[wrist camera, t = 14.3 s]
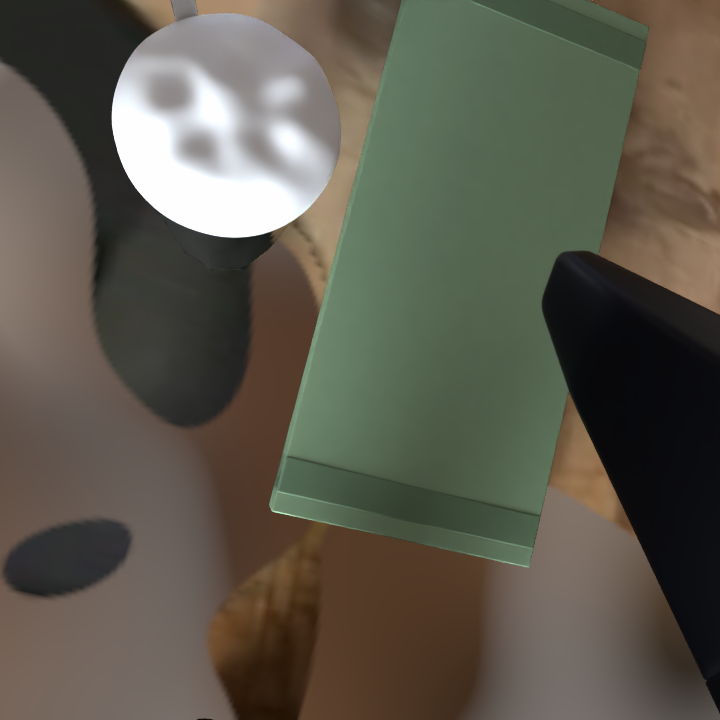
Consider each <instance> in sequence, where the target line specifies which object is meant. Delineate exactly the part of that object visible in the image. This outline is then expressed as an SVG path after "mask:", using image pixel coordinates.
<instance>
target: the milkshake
mask: <svg viewBox="0 0 720 720" xmlns="http://www.w3.org/2000/svg"><path fill="white" fill-rule="evenodd" d="M171 4H172V8H173V12H174V16H175V21H176V22H174V23H172V24H170V25H168V26H166V27H164V28H162V29H160V30H158V31H157V32H155V33H154V34H152V35H151V36H149V37H148V38H147V39H145V40H144V41H143V42H142V43H141V44H140V45H139V46H138V47H137V48H136V49H135V51H134V52H133V53H132V55H131V56H130V58H129V59H128V61H127V63H126V65H125V67H124V69H123V71H122V73H121V76H120V78H119V81H118V84H117V87H116V90H115V94H114V99H113V106H112V127H113V133H114V138H115V142H116V146H117V149H118V153H119V156H120V159H121V161H122V164H123V166H124V169H125V171H126V173H127V175H128V176H129V178H130V180H131V181H132V183H133V184H134V186H135V187H136V188H137V190H138V191H139V192H140V193H141V195H142V196H143V197H144V198H145V199H146V200H147V201H148V202H149V203H150V205H151V206H152V207H153V208H154V209H155V211H156V212H157V213H158V214H159V216H160V217H161V218H162V220H163V221H164V223H165V224H166V226H167V227H168V229H169V231H170V232H171V234H172V235H173V237H174V238H175V240H176V241H177V243H178V244H179V246H180V247H181V249H182V250H183V252H184V253H186V254H188V255H189V256H191V257H192V258H194V259H195V260H197V261H199V262H200V263H202V264H203V265H205V266H206V267H208V268H209V269H211V270H229V269H245V268H246V267H247V266H249V265H250V264H251V263H252V262H254V261H255V260H256V259H257V258H259V257H260V256H261V255H262V254H264V253H265V252H266V251H267V250H269V249H270V247H271V246H272V245H273V244H274V243H275V242H276V241H277V239H278V238H279V237H280V236H281V235H282V234H283V232H284V231H285V230H286V229H287V228H288V227H289V226H290V225H291V224H292V223H293V222H294V221H295V220H296V219H298V218H299V217H300V216H301V215H302V214H303V213H304V212H305V211H306V210H307V209H308V208H309V207H310V206H311V205H312V204H313V203H314V202H315V201H316V200H317V198H318V197H319V196H320V194H321V193H322V191H323V190H324V188H325V187H326V185H327V183H328V182H329V180H330V178H331V176H332V173H333V171H334V169H335V166H336V163H337V160H338V156H339V152H340V145H341V124H340V118H339V113H338V109H337V106H336V103H335V100H334V97H333V94H332V91H331V88H330V86H329V83H328V81H327V78H326V76H325V74H324V72H323V70H322V68H321V66H320V65H319V63H318V62H317V61H316V59H315V58H314V57H313V56H312V55H311V54H310V53H309V52H308V51H306V50H305V49H304V48H303V47H301V46H300V45H299V44H297V43H296V42H294V41H293V40H291V39H290V38H289V37H287V36H286V35H284V34H283V33H281V32H280V31H279V30H277V29H276V28H274V27H272V26H271V25H269V24H267V23H265V22H263V21H261V20H259V19H256V18H253V17H250V16H246V15H240V14H230V13H217V14H205V15H198V11H197V6H196V1H195V0H171Z"/></svg>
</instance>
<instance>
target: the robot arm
mask: <svg viewBox="0 0 720 720" xmlns="http://www.w3.org/2000/svg"><path fill="white" fill-rule="evenodd" d="M541 307H542V313H543V316H544V319H545V322H546V325H547V328H548V331H549V334H550V337H551V340H552V343H553V346H554V349H555V352H556V355H557V358H558V361H559V364H560V367H561V370H562V373H563V376H564V378H565V381H566V384H567V387H568V389H569V392H570V395H571V397H572V399H573V402H574V404H575V406H576V409H577V411H578V413H579V415H580V417H581V419H582V421H583V424H584V426H585V428H586V430H587V432H588V434H589V436H590V438H591V440H592V443H593V445H594V447H595V449H596V451H597V453H598V455H599V457H600V460H601V462H602V464H603V466H604V468H605V470H606V472H607V474H608V477H609V479H610V481H611V483H612V485H613V487H614V489H615V491H616V494H617V496H618V498H619V500H620V502H621V504H622V506H623V508H624V510H625V513H626V515H627V517H628V519H629V521H630V523H631V525H632V527H633V530H634V532H635V534H636V536H637V538H638V540H639V542H640V544H641V546H642V549H643V551H644V553H645V555H646V557H647V559H648V561H649V563H650V566H651V568H652V570H653V572H654V574H655V576H656V578H657V580H658V583H659V585H660V587H661V589H662V591H663V593H664V595H665V597H666V599H667V602H668V604H669V606H670V608H671V610H672V612H673V614H674V616H675V619H676V621H677V623H678V625H679V627H680V629H681V631H682V633H683V635H684V638H685V640H686V642H687V644H688V646H689V648H690V650H691V652H692V654H693V657H694V659H695V661H696V663H697V665H698V667H699V669H700V672H701V674H702V676H703V678H704V679H705V680H707V681H706V685H707V687H708V689H709V692H710V694H711V696H712V698H713V700H714V702H715V704H716V706H717V708H718V711H719V713H720V315H719V314H717V313H715V312H713V311H711V310H709V309H707V308H705V307H703V306H701V305H699V304H697V303H695V302H693V301H691V300H689V299H687V298H685V297H682V296H680V295H678V294H676V293H674V292H672V291H670V290H668V289H666V288H664V287H662V286H660V285H658V284H656V283H654V282H652V281H650V280H648V279H646V278H644V277H642V276H640V275H638V274H636V273H633V272H631V271H629V270H627V269H625V268H623V267H621V266H619V265H617V264H615V263H613V262H611V261H609V260H607V259H605V258H603V257H601V256H599V255H597V254H595V253H593V252H590V251H586V250H582V251H564V252H562V253H560V254H559V255H558V257H557V258H556V260H555V262H554V265H553V268H552V271H551V273H550V276H549V279H548V282H547V285H546V288H545V290H544V293H543V296H542V302H541ZM197 720H212V719H197Z"/></svg>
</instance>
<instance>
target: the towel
mask: <svg viewBox="0 0 720 720" xmlns="http://www.w3.org/2000/svg"><path fill="white" fill-rule="evenodd" d="M648 32H649V27H648V26H646V25H644V24H641V23H639V22H637V21H634V20H632V19H630V18H627V17H625V16H623V15H620V14H618V13H616V12H613V11H611V10H609V9H606V8H604V7H602V6H599V5H597V4H595V3H592V2H590V1H588V0H402V1H401V5H400V9H399V13H398V17H397V20H396V24H395V28H394V32H393V36H392V39H391V43H390V47H389V51H388V55H387V58H386V62H385V66H384V70H383V74H382V77H381V81H380V85H379V89H378V93H377V96H376V100H375V104H374V108H373V112H372V115H371V119H370V123H369V127H368V131H367V134H366V138H365V142H364V146H363V150H362V153H361V157H360V161H359V165H358V169H357V172H356V176H355V180H354V184H353V188H352V191H351V195H350V199H349V203H348V207H347V210H346V214H345V218H344V222H343V226H342V229H341V233H340V237H339V241H338V245H337V249H336V252H335V256H334V260H333V264H332V268H331V271H330V275H329V279H328V283H327V287H326V290H325V294H324V298H323V302H322V306H321V309H320V313H319V317H318V321H317V325H316V328H315V332H314V336H313V340H312V344H311V347H310V351H309V355H308V359H307V363H306V366H305V370H304V374H303V378H302V382H301V386H300V389H299V393H298V397H297V401H296V405H295V408H294V412H293V416H292V420H291V424H290V427H289V431H288V435H287V439H286V443H285V446H284V450H283V454H282V458H281V461H280V465H279V469H278V473H277V477H276V480H275V484H274V488H273V492H272V496H271V500H270V503H269V505H270V508H271V510H272V511H273V512H277V513H282V514H286V515H291V516H296V517H300V518H305V519H309V520H314V521H318V522H323V523H327V524H332V525H337V526H341V527H346V528H350V529H355V530H359V531H364V532H368V533H374V534H378V535H382V536H387V537H391V538H396V539H400V540H405V541H410V542H414V543H419V544H423V545H428V546H433V547H437V548H442V549H446V550H451V551H455V552H460V553H465V554H469V555H473V556H478V557H483V558H487V559H492V560H496V561H501V562H505V563H510V564H515V565H520V566H524V567H529V566H530V562H531V557H532V553H533V548H534V544H535V539H536V535H537V530H538V525H539V521H540V516H541V512H542V508H543V503H544V499H545V494H546V490H547V485H548V481H549V476H550V472H551V467H552V463H553V458H554V454H555V449H556V445H557V440H558V436H559V431H560V427H561V422H562V418H563V413H564V409H565V404H566V400H567V396H568V391H569V389H568V387H567V384H566V381H565V378H564V376H563V373H562V370H561V367H560V364H559V361H558V358H557V355H556V352H555V349H554V346H553V343H552V340H551V337H550V334H549V331H548V328H547V325H546V322H545V319H544V316H543V313H542V307H541V302H542V296H543V293H544V290H545V288H546V285H547V282H548V279H549V276H550V273H551V271H552V268H553V265H554V262H555V260H556V258H557V257H558V255H559V254H560V253H562V252H564V251H582V250H586V251H590V252H593V253H595V254H597V255H599V252H600V247H601V243H602V238H603V234H604V229H605V225H606V220H607V216H608V211H609V207H610V202H611V198H612V193H613V189H614V184H615V180H616V176H617V171H618V167H619V162H620V158H621V153H622V149H623V144H624V140H625V135H626V131H627V126H628V122H629V117H630V113H631V108H632V104H633V99H634V95H635V90H636V86H637V81H638V77H639V72H640V69H641V65H642V60H643V56H644V51H645V47H646V41H647V36H648Z"/></svg>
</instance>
